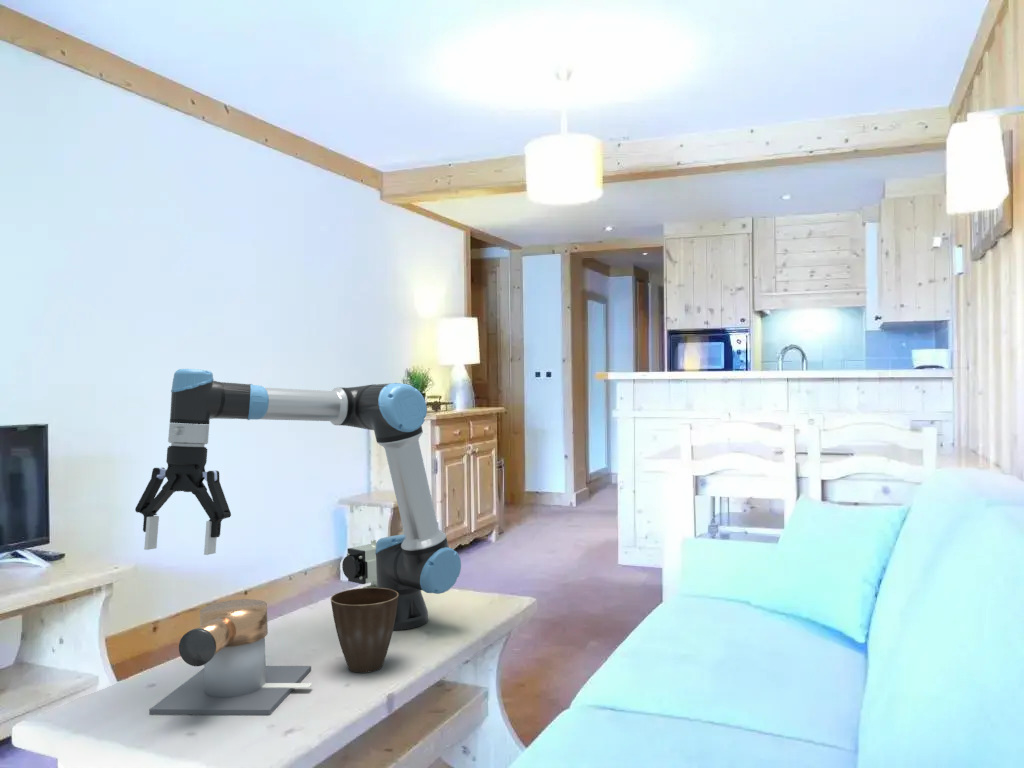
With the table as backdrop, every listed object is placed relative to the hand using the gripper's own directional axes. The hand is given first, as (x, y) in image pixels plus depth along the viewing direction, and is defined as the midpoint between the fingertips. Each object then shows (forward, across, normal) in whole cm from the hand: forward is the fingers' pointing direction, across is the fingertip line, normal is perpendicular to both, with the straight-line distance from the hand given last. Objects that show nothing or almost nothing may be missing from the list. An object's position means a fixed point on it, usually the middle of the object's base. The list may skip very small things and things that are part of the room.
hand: (179, 551), depth 157 cm
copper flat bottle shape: (+19, +8, +5) cm, 21 cm away
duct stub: (+29, +10, +11) cm, 33 cm away
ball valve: (+24, +9, +81) cm, 85 cm away
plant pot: (+27, +30, +28) cm, 49 cm away
